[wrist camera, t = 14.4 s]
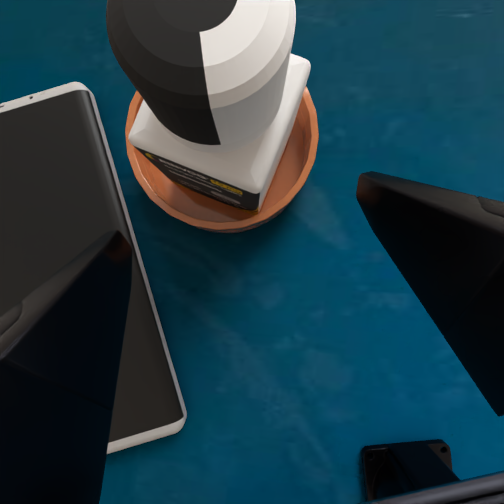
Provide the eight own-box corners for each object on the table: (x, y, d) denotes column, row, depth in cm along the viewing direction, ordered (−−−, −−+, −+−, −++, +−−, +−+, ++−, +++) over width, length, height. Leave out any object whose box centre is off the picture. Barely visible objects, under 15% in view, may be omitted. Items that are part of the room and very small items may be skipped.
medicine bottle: (171, 183, 19) (32, 58, 7) (206, 98, 19) (128, -167, 7) (257, 217, 19) (264, 149, 7) (291, 132, 19) (357, -80, 7)
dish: (315, 225, 19) (327, 219, 16) (152, 240, 19) (133, 237, 16) (300, 64, 20) (308, 29, 17) (138, 79, 20) (118, 47, 17)
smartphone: (28, 467, 19) (5, 488, 17) (-63, 138, 20) (-94, 127, 18) (191, 417, 19) (185, 433, 17) (96, 90, 20) (80, 74, 18)
